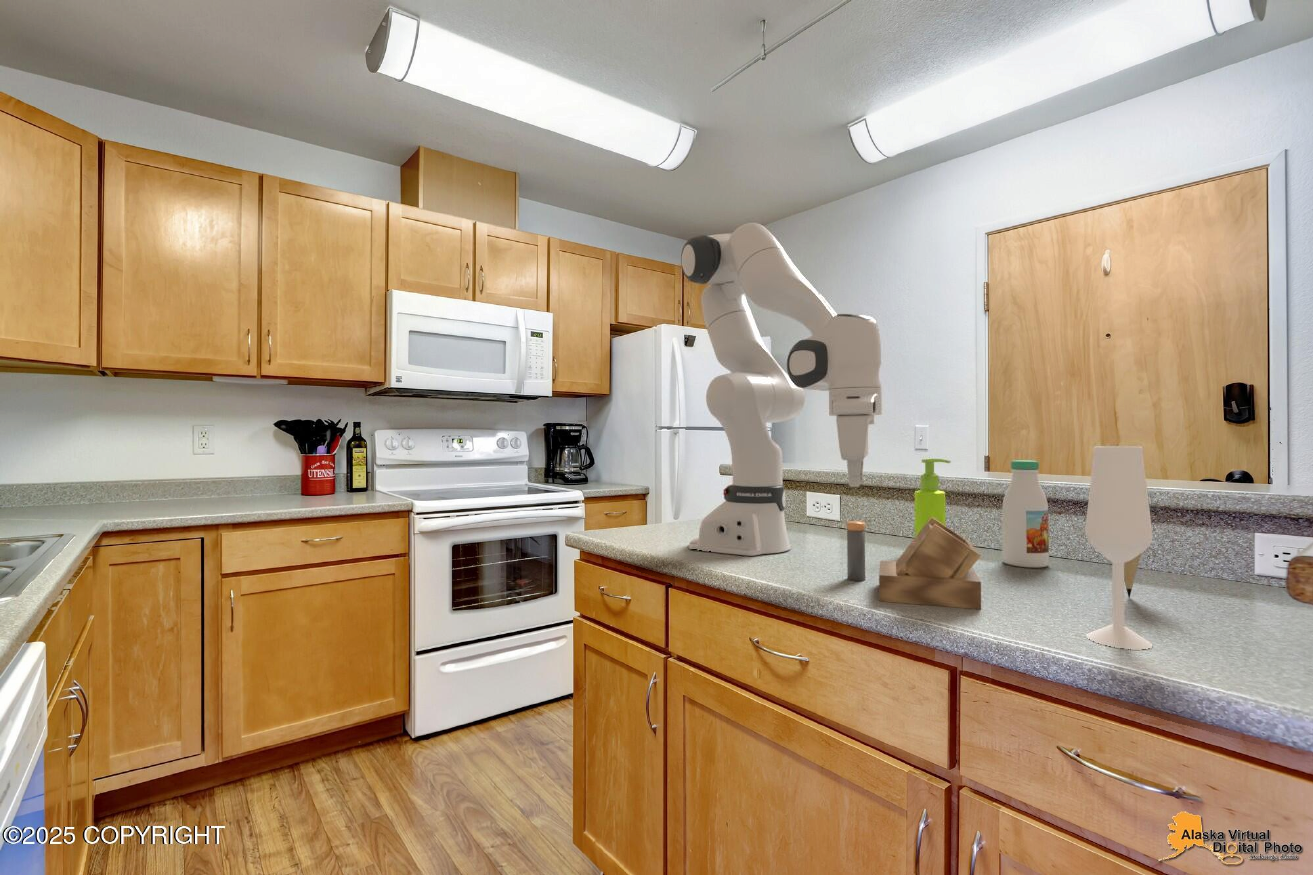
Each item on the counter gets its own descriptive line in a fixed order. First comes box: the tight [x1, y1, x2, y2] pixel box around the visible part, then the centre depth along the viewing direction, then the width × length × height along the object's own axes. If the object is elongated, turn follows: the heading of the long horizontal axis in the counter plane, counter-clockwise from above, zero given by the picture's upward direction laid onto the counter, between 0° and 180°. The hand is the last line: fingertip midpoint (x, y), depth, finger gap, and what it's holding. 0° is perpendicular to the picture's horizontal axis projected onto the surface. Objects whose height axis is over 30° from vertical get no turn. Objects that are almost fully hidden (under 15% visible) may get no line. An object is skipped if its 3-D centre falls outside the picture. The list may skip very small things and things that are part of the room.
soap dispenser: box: [914, 458, 952, 538], centre depth 130 cm, size 6×7×20 cm
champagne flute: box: [1084, 445, 1154, 651], centre depth 77 cm, size 7×7×24 cm
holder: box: [878, 517, 982, 610], centre depth 98 cm, size 14×11×12 cm
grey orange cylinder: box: [846, 520, 866, 582], centre depth 110 cm, size 3×3×10 cm
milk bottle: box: [1001, 459, 1050, 569], centre depth 120 cm, size 8×8×20 cm
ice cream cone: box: [1124, 524, 1153, 599], centre depth 96 cm, size 6×6×15 cm
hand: (856, 484), depth 109 cm, fingers open, 8 cm apart
